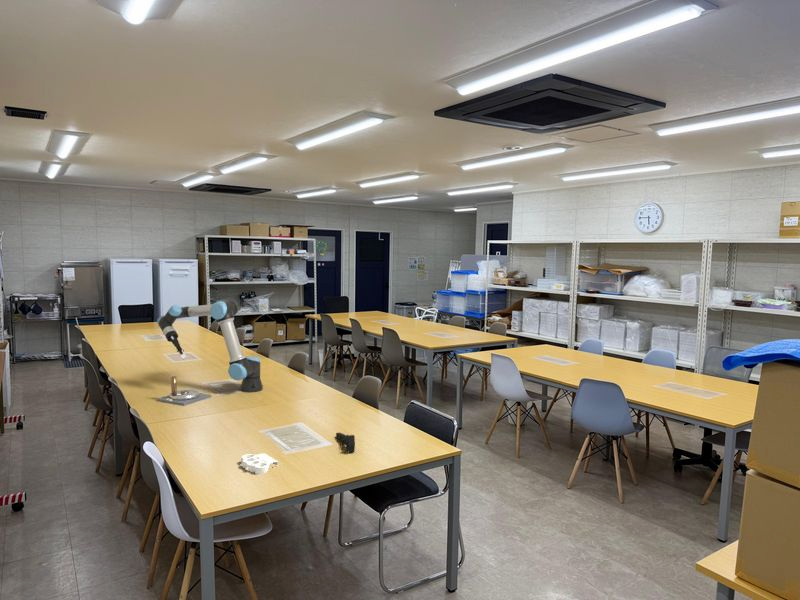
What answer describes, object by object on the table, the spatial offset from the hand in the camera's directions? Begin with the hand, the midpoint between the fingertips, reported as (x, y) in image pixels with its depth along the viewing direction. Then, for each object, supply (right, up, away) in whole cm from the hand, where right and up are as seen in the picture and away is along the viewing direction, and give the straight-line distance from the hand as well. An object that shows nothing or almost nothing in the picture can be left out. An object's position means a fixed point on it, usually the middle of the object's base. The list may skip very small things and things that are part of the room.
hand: (184, 358), depth 351 cm
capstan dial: (+4, -24, -9) cm, 26 cm away
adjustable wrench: (+115, -35, -86) cm, 148 cm away
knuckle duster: (+79, -36, -114) cm, 143 cm away
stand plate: (+4, -25, -9) cm, 27 cm away
